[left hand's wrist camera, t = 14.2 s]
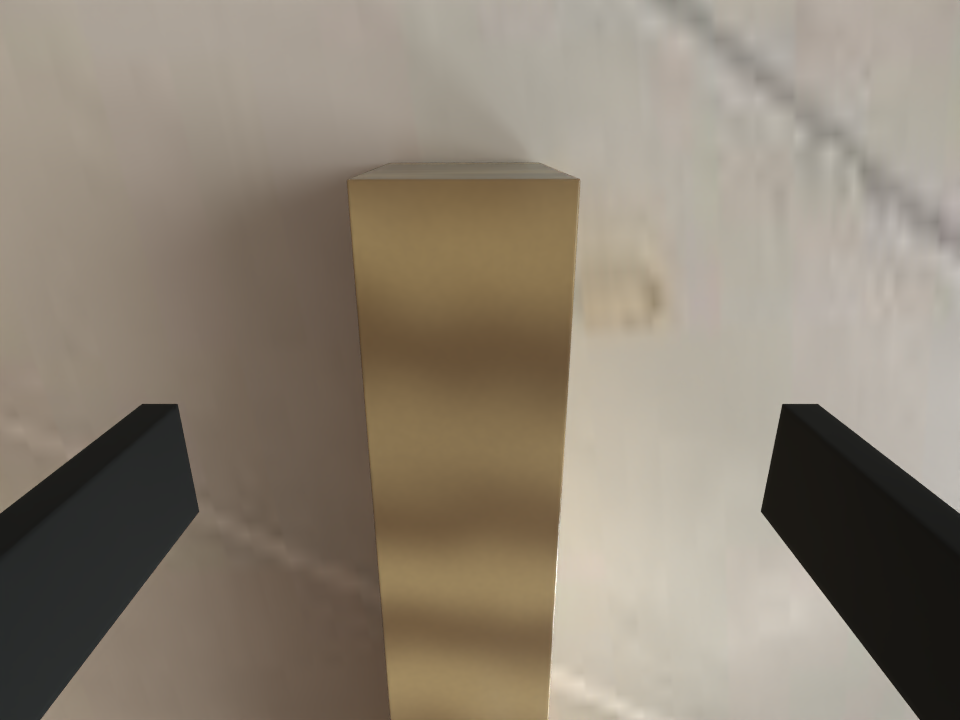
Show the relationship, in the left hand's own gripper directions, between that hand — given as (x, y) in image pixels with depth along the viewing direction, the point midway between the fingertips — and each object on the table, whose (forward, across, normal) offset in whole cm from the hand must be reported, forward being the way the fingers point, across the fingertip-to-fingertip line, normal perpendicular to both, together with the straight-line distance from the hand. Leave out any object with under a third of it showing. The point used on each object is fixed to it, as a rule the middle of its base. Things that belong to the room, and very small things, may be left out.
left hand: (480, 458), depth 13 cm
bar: (+12, 0, -25) cm, 28 cm away
